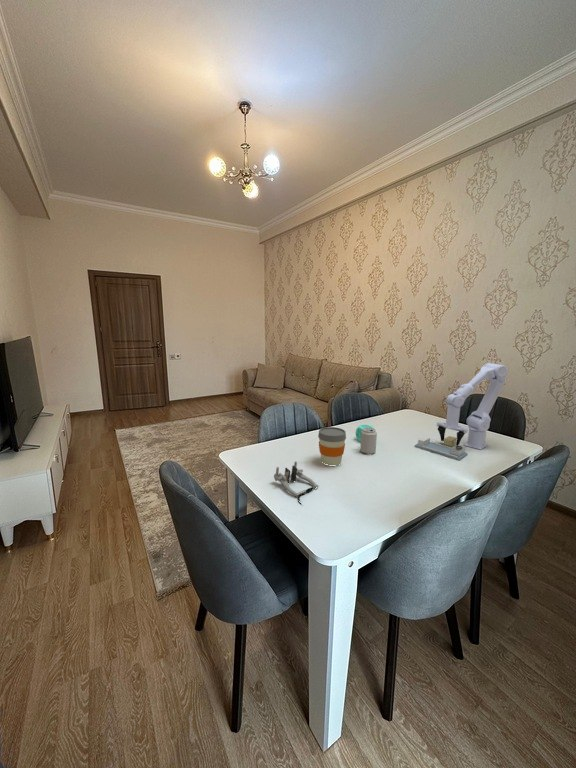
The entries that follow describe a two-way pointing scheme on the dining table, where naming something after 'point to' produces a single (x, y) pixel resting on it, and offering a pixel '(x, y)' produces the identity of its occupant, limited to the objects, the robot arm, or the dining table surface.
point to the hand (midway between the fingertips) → (449, 442)
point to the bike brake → (285, 479)
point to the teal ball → (360, 428)
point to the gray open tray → (437, 448)
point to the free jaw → (457, 450)
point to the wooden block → (450, 441)
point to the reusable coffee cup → (331, 445)
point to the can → (368, 440)
